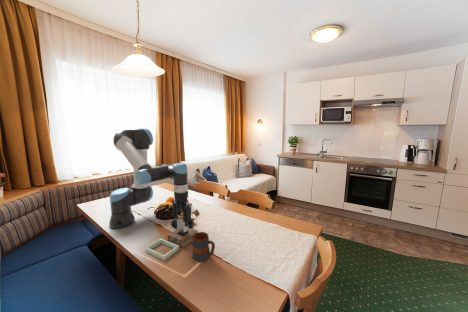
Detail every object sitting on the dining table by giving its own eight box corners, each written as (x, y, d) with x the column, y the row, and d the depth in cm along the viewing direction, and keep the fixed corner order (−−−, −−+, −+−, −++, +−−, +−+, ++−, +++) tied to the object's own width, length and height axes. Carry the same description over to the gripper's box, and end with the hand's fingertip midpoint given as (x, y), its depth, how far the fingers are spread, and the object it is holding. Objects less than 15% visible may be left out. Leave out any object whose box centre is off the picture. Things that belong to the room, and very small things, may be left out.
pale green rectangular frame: (145, 253, 101) (145, 247, 101) (161, 243, 110) (160, 238, 109) (164, 262, 94) (164, 256, 94) (179, 250, 103) (179, 245, 103)
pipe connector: (184, 213, 136) (200, 219, 127) (184, 221, 137) (200, 227, 128) (170, 220, 126) (186, 227, 118) (171, 228, 127) (187, 235, 119)
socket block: (167, 243, 110) (167, 234, 109) (182, 233, 120) (182, 225, 120) (183, 249, 104) (183, 240, 104) (197, 238, 115) (197, 230, 114)
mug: (210, 266, 91) (210, 244, 90) (189, 260, 96) (188, 238, 94) (218, 255, 99) (218, 234, 98) (198, 250, 104) (197, 230, 102)
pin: (176, 240, 111) (175, 215, 109) (182, 235, 115) (181, 212, 113) (183, 242, 109) (182, 217, 107) (189, 238, 113) (188, 213, 111)
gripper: (165, 190, 109) (167, 229, 112) (187, 195, 101) (189, 237, 104) (175, 186, 115) (176, 223, 119) (197, 191, 107) (198, 230, 111)
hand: (182, 230), depth 111 cm, fingers closed on pin, 4 cm apart
